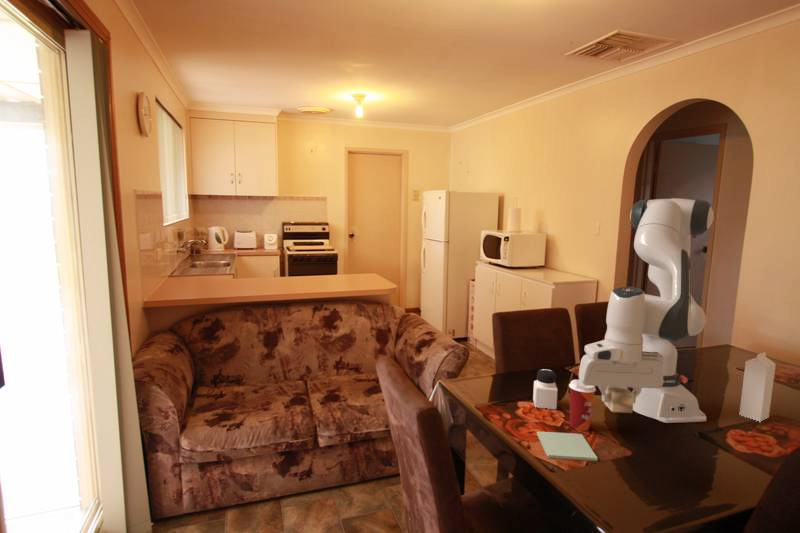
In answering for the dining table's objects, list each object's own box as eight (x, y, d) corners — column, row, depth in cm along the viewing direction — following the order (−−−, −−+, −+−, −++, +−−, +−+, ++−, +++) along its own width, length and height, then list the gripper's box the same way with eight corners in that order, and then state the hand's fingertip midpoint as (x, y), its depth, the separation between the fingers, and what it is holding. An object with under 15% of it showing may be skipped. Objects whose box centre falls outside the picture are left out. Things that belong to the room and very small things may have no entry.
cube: (623, 404, 117) (625, 386, 116) (632, 412, 112) (634, 394, 111) (604, 403, 117) (605, 385, 116) (612, 411, 112) (613, 393, 111)
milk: (768, 419, 145) (777, 354, 142) (760, 423, 142) (769, 357, 139) (746, 411, 150) (755, 349, 147) (738, 415, 147) (746, 351, 144)
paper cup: (590, 435, 131) (594, 390, 130) (563, 427, 135) (566, 384, 134) (594, 424, 138) (598, 382, 136) (569, 418, 142) (572, 376, 140)
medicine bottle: (556, 410, 148) (559, 375, 146) (534, 407, 149) (536, 373, 148) (553, 401, 155) (556, 368, 153) (532, 399, 156) (534, 366, 155)
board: (581, 436, 130) (581, 434, 130) (597, 460, 117) (597, 458, 117) (536, 433, 131) (536, 431, 131) (547, 457, 118) (548, 455, 118)
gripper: (657, 348, 115) (653, 398, 117) (578, 345, 116) (574, 395, 118) (671, 356, 109) (665, 409, 111) (587, 352, 110) (583, 405, 112)
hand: (618, 402), depth 114 cm, fingers closed on cube, 5 cm apart
